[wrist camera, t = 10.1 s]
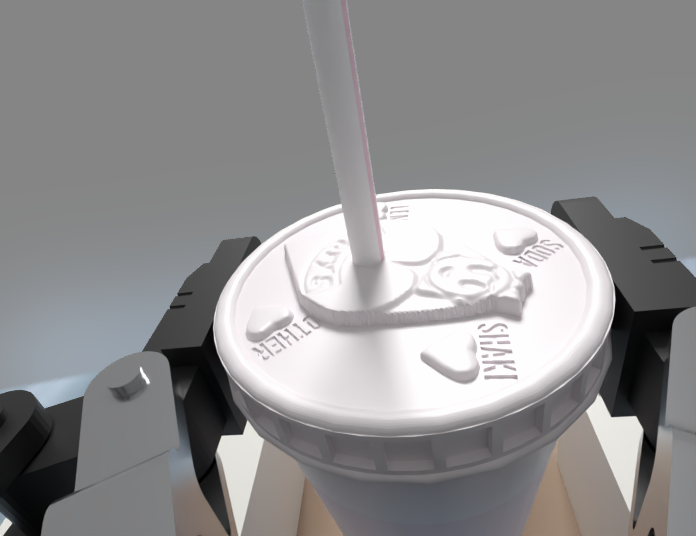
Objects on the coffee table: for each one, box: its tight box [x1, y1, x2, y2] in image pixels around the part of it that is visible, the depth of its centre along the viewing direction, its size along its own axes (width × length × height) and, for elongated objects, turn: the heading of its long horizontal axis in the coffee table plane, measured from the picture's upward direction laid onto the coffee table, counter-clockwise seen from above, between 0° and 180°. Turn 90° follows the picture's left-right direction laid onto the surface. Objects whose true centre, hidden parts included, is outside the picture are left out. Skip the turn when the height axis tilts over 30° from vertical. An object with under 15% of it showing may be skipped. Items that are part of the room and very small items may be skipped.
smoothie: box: [213, 0, 615, 536], centre depth 9 cm, size 6×6×14 cm
